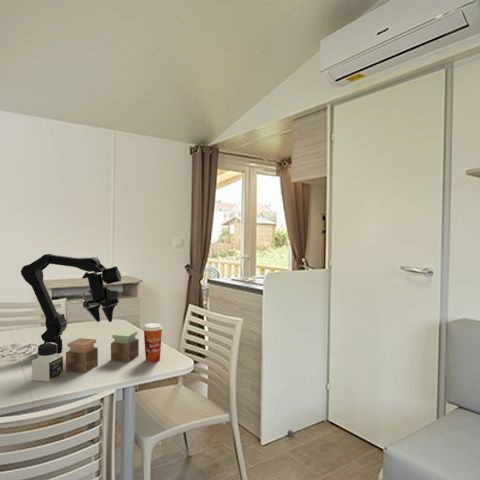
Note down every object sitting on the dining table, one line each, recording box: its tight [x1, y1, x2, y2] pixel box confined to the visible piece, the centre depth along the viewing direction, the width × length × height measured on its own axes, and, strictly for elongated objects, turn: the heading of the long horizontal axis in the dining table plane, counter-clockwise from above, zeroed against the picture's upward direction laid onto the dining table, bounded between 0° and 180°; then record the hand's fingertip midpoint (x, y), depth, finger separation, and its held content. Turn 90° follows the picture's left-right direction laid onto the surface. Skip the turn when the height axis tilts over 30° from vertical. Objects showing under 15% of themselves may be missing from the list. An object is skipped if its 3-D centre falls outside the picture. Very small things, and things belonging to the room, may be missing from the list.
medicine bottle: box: [31, 342, 64, 383], centre depth 135 cm, size 7×7×12 cm
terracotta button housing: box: [65, 346, 99, 374], centre depth 144 cm, size 8×8×7 cm
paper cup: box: [142, 322, 164, 363], centre depth 154 cm, size 8×8×14 cm
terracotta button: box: [67, 337, 97, 353], centre depth 144 cm, size 7×7×7 cm
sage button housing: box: [110, 338, 140, 363], centre depth 156 cm, size 8×8×7 cm
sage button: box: [111, 329, 138, 344], centre depth 155 cm, size 7×7×7 cm
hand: (104, 321), depth 164 cm, fingers open, 9 cm apart
